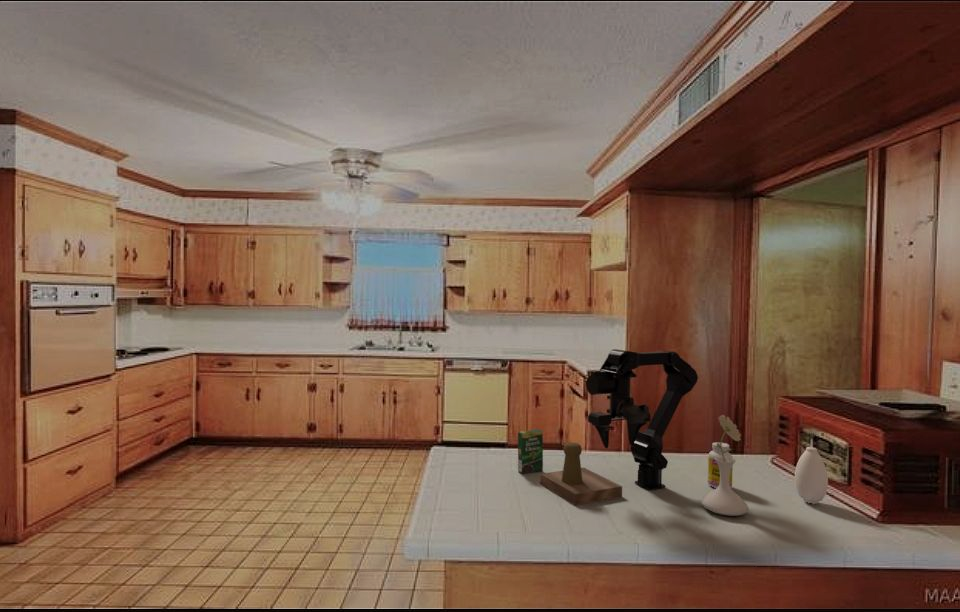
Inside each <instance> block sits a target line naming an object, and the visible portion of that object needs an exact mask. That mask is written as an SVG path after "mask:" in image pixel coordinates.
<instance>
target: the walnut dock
mask: <svg viewBox="0 0 960 612" xmlns="http://www.w3.org/2000/svg"><path fill="white" fill-rule="evenodd" d="M581 473H582V481H583V483H582V484H579V485H570V484H565V483H563V482H562V474H563V470H558V471H557V470H556V471H550V472H543V473H540V475H539V484H540V485H541V486H542V487H545V488H546V489H548V490H550V491H551V492H553V493H555V494H556V495H558V496H559V497H561V498H562V499H564V500H566V501H567V502H569V503H571V504H572V505H574V506H580V505H583V504H590V503H595V502H601V500H602V501H606V500H605V499H607V500H611V499H612V498H613V499H617V497H618V498H622V497H623V485H621V484H618V483H616V482H614V481H613V480H612V479H611V480H610V479H608V478H606V477H604V476H602V475H600V474H598V473H596V472H594V471H592V470H590V469H588V468H586V467H581ZM613 499H612V500H613Z"/></svg>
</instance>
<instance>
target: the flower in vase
mask: <svg viewBox="0 0 960 612" xmlns="http://www.w3.org/2000/svg"><path fill="white" fill-rule="evenodd" d="M717 418H718V421H719V425H720V426H721V427H722V429H723V430H724V432H723V434H722V436H721V439H720V444H719V443H718V441H716V442H717V445H716V446H717V447H719V448H720V449H721V452H722V456H723V457H715V460H716V461H717V463H718V465H719V470H720V484H719V486H718V487H717V488H716V489H715V488H713V490H712V491H709V492H707V493H706V494H705V495H704V496H702V497H701V499H700V503H701V504H702V506H703V507H704V508H705V509H707V510H708V511H710V512H712V513H715V514H719V515H723V516H730V517H733V516H734V517H735V516H742V515H745V514H747V512H748V511H749V507H748V504H747V503H746V502H745V500H744V499H742V497H740V496H739V495H738V494H737V493H736V492H735V491H734V490H733V489H732V488H731V487H730V484H729V477H730V470H731V467H732V465H734V464H735V463H736V460H735V459H734V458H733V459H732V458H728V457H724V454H723V453H726V452H728V451H729V452H731V451H732V450H733V448H730V449H729V450H728V451H725V452H723V451H722V445H721V444H722V443H723V439H724V437H725V434H727V436H729V437H730V438H731V439H732V440H733V441H736V442H740V441H742V439H741V437H742V434H741V432H740V431H739V429H738V426H737V424H735V423H734V422H733V421H732V420H731V418H730V417H729V416H725V415H724V414H722V415H719V416H718V417H717Z"/></svg>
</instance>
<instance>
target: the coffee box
mask: <svg viewBox="0 0 960 612" xmlns="http://www.w3.org/2000/svg"><path fill="white" fill-rule="evenodd" d="M543 435H544V431H543V430H540V429H533V430H525V431H524V430H523V431H517V471H519V472H518V473H520V474H521V473H522V474H529V473H537V472H543V471H544V458H543V457H544V452H543V451H544V446H543V445H544V443H543V442H544V441H543V439H544V437H543Z"/></svg>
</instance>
